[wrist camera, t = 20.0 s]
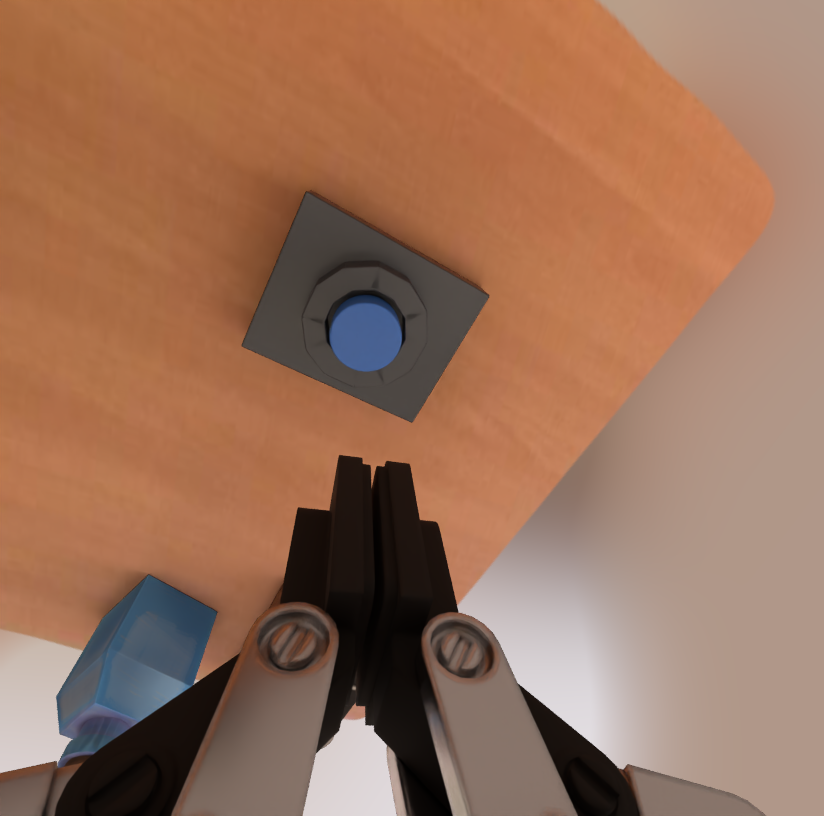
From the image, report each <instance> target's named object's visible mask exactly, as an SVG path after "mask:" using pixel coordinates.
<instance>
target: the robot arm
mask: <svg viewBox="0 0 824 816" xmlns="http://www.w3.org/2000/svg"><path fill="white" fill-rule="evenodd" d="M355 676H356V706H365V721H366V722H365V723H366V724H365V725H374V732H375V733H376V734H377V735H378V736H379V737H380V738H381V739H382V740H383V741H384V742H385V743H386V744H387V763H388V768H389V774H390V780H391V785H392V791H393V797H394V802H395V808H396V814H397V816H765V814H764V813H763V812H761V811H760V810H759V809H757V808H756V807H755V806H754V805H752V804H751V803H750V802H748V801H747V800H745V799H743V798H741V797H739V796H737V795H734V794H732V793H729V792H725V791H722V790H718V789H714V788H711V787H707V786H704V785H700V784H697V783H693V782H690V781H686V780H682V779H679V778H675V777H671V776H668V775H664V774H661V773H657V772H654V771H650V770H647V769H643V768H639V767H636V766H632V765H629V764H628V765H627V766H626V767H625V768H624V770H622V769H619V768H617V766H615V764H614V763H613V762H612V761H611V760H610V759H609V758H608V757H606V755H605V754H604V753H602V752H601V751H600V750H599V749H597V748H596V747H595V746H594V745H593V744H591V743H590V742H589V741H588V740H587V739H585V738H584V737H583V736H582V735H580V734H579V733H578V732H577V731H576V730H574V729H573V728H572V727H571V726H569V725H568V724H567V723H566V722H564V721H563V720H562V719H561V718H560V717H558V716H557V715H556V714H554V713H553V712H552V711H551V710H550V709H549V708H547V707H546V706H545V705H543V704H542V703H541V702H540V701H539V700H538V699H536V698H535V697H534V696H533V695H531V694H530V693H529V692H528V691H526V690H525V689H524V688H523V687H522V686H520V685H519V684H518V683H517V681H516V679H515V677H514V674H513V672H512V670H511V668H510V666H509V663H508V661H507V659H506V657H505V654H504V652H503V650H502V648H501V646H500V644H499V642H498V640H497V639H496V637H495V636H494V634H493V632H492V631H490V630H489V629H488V628H487V627H486V626H485V625H484V624H483V623H482V622H480V621H478V620H477V619H475V618H474V617H471V616H468V615H465V614H462V613H458V608H457V604H456V599H455V595H454V591H453V586H452V582H451V577H450V573H449V569H448V564H447V560H446V555H445V551H444V547H443V542H442V538H441V533H440V529H439V526H438V524H437V523H436V522H433V521H424V520H420V519H419V513H418V507H417V502H416V496H415V490H414V485H413V479H412V473H411V467H410V464H407V463H399V462H391V461H386V463H385V466H384V467H382V466H377V467H376V471H375V475H374V480H373V485H372V490H371V466H370V465H366V464H363V463H362V458H359V457H351V456H343V455H339V458H338V463H337V469H336V475H335V481H334V487H333V493H332V499H331V504H330V510H329V511H327V510H317V509H307V508H298V509H297V514H296V519H295V525H294V530H293V535H292V541H291V546H290V551H289V557H288V562H287V567H286V573H285V578H284V583H283V588H282V594H281V599H280V604H279V605H277V606H275V607H273V608H271V609H268V610H267V611H266V612H264V613H263V614H262V615H261V616H260V617H259V618H257V620H256V621H255V623H254V624H253V626H252V628H251V629H250V631H249V634H248V636H247V638H246V641H245V643H244V645H243V648H242V650H241V652H240V654H238V655H237V656H235V657H234V658H232V659H231V660H229V661H228V662H226V663H225V664H223V665H222V666H220V667H219V668H218V669H216V670H215V671H213V672H212V673H210V674H209V675H207V676H206V677H204V678H203V679H201V680H200V681H198V682H197V683H195V684H194V685H193V686H191V687H190V688H188V689H187V690H185V691H184V692H182V693H181V694H179V695H178V696H176V697H175V698H173V699H172V700H171V701H169V702H168V703H166V704H165V705H163V706H162V707H160V708H159V709H157V710H156V711H154V712H153V713H151V714H150V715H149V716H147V717H146V718H144V719H143V720H141V721H140V722H138V723H137V724H135V725H134V726H132V727H131V728H129V729H128V730H126V731H125V732H124V733H122V734H121V735H119V736H118V737H116V738H115V739H113V740H112V741H110V742H109V743H107V744H106V745H104V746H103V747H102V748H100V749H99V750H98V751H97V752H95V753H94V754H93V755H92V756H91V757H89V758H88V759H87V760H86V761H85V762H83V763H79V764H74V765H70V766H65V767H61V768H58V766H57V761H54V762H50V763H45V764H40V765H36V766H31V767H26V768H22V769H17V770H13V771H8V772H3V773H0V816H302V815H303V810H304V806H305V802H306V797H307V791H308V788H309V783H310V778H311V773H312V768H313V764H314V759H315V755H316V753H317V752H318V751H319V750H320V749H321V748H322V747H323V746H324V745H325V744H326V743H327V742H328V741H329V740H330V739H331V738H332V737H333V736H334V735H335V734H336V733H337V732H338V731H339V728H340V724H341V720H342V716H343V712H344V708H345V706H348V704H349V700H350V696H351V692H352V688H353V684H354V680H355Z"/></svg>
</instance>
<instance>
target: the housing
mask: <svg viewBox="0 0 824 816" xmlns="http://www.w3.org/2000/svg"><path fill="white" fill-rule="evenodd" d="M358 295H372V296H376V297H379V298H381V299H383V300H384V301H386V302H387V303H388V304H389V305H390V306H391V307H392V308H393V309H394V311H395V312H396V314H397V317H398V319H399V323H400V327H401V332H402V342H401V347H400V350H399V352H398V354H397V355H396V357H395V358H394V359H393V361H392V362H390V363H389V364H388V365H387V366H385V367H383V368H381V369H378V370H375V371H369V372H363V371H357V370H354V369H351V368H349V367H347V366H346V365H344V364H343V363H342V362H341V361H340V360H339V359H338V358H337V357H336V356H335V354H334V352H333V350H332V348H331V345H330V337H329V334H330V328H331V323H332V319H333V316H334V314H335V312H336V310H337V309H338V307H339V306H340V305H341V304H342V303H343V302H345V301H346V300H348V299H349V298H352V297H354V296H358ZM488 298H489V295H488V294H487V293H486V292H485V291H484V290H483V289H482V288H481V287H479V286H478V285H476V284H474V283H472V282H471V281H469V280H467V279H465V278H464V277H462V276H460V275H458V274H457V273H455V272H453V271H451V270H450V269H448V268H446V267H444V266H443V265H441V264H439V263H438V262H436V261H434V260H432V259H431V258H429V257H427V256H425V255H424V254H422V253H420V252H418V251H417V250H415V249H413V248H411V247H410V246H408V245H406V244H404V243H403V242H401V241H399V240H397V239H396V238H394V237H392V236H390V235H389V234H387V233H385V232H383V231H382V230H380V229H378V228H377V227H375V226H373V225H371V224H370V223H368V222H366V221H364V220H363V219H361V218H359V217H357V216H356V215H354V214H352V213H350V212H349V211H347V210H345V209H343V208H342V207H340V206H338V205H336V204H335V203H333V202H331V201H329V200H328V199H326V198H324V197H322V196H321V195H319V194H317V193H316V192H314V191H312V190H310V191H306V192H305V195H304V197H303V199H302V202H301V204H300V207H299V209H298V211H297V214H296V216H295V218H294V221H293V223H292V226H291V228H290V230H289V233H288V235H287V238H286V240H285V242H284V245H283V247H282V250H281V252H280V254H279V257H278V259H277V261H276V264H275V266H274V269H273V271H272V273H271V276H270V278H269V281H268V283H267V285H266V288H265V290H264V292H263V295H262V297H261V300H260V302H259V304H258V307H257V309H256V312H255V314H254V316H253V319H252V321H251V323H250V326H249V328H248V331H247V333H246V335H245V338H244V340H243V343H242V347H244V348H246V349H249V350H251V351H253V352H255V353H258V354H260V355H262V356H264V357H267V358H269V359H271V360H273V361H275V362H278V363H280V364H282V365H284V366H287V367H289V368H291V369H293V370H296V371H298V372H300V373H302V374H304V375H307V376H309V377H311V378H313V379H316V380H318V381H320V382H322V383H325V384H327V385H329V386H331V387H333V388H336V389H338V390H340V391H342V392H345V393H347V394H349V395H351V396H353V397H356V398H358V399H360V400H362V401H365V402H367V403H369V404H371V405H374V406H376V407H378V408H380V409H382V410H385V411H387V412H389V413H391V414H394V415H396V416H398V417H400V418H403V419H405V420H407V421H409V422H413V421H414V419H415V418H416V416H417V414H418V413H419V411H420V409H421V408H422V406H423V404H424V403H425V401H426V400H427V398H428V396H429V395H430V393H431V391H432V390H433V388H434V386H435V385H436V383H437V382H438V380H439V378H440V377H441V375H442V373H443V372H444V370H445V368H446V367H447V365H448V364H449V362H450V360H451V359H452V357H453V355H454V354H455V352H456V350H457V349H458V347H459V346H460V344H461V342H462V341H463V339H464V337H465V336H466V334H467V332H468V331H469V329H470V328H471V326H472V324H473V323H474V321H475V319H476V318H477V316H478V314H479V313H480V311H481V310H482V308H483V306H484V305H485V303H486V301H487V300H488Z"/></svg>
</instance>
